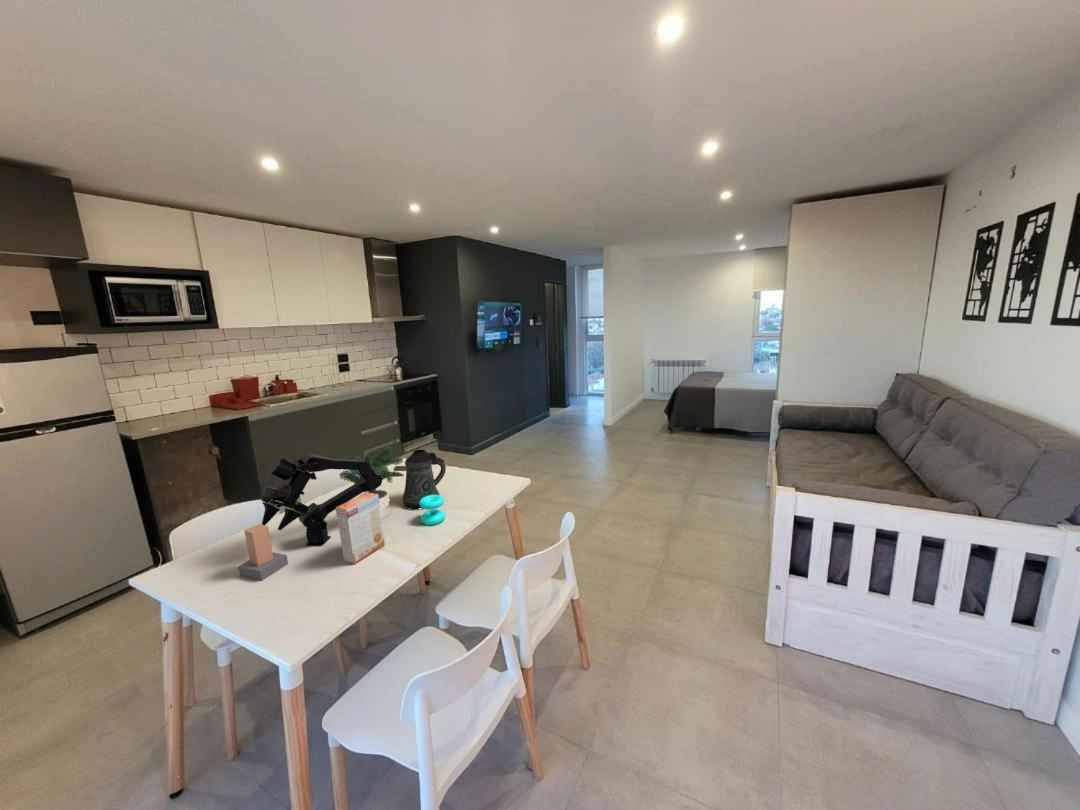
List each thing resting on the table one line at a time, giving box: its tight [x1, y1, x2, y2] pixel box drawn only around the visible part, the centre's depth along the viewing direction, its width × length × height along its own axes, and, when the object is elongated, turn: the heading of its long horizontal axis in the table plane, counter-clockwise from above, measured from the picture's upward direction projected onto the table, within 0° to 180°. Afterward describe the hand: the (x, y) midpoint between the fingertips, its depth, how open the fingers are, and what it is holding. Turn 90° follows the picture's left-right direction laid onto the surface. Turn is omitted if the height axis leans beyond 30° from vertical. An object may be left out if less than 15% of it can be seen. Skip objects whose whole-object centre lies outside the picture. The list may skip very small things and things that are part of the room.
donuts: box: [419, 494, 446, 526], centre depth 175 cm, size 10×10×10 cm
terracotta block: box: [243, 523, 274, 566], centre depth 141 cm, size 5×5×12 cm
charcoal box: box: [237, 551, 289, 582], centre depth 143 cm, size 10×10×4 cm
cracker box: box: [335, 491, 386, 565], centre depth 150 cm, size 14×6×21 cm, turn 153°
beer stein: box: [401, 449, 447, 510], centre depth 192 cm, size 16×19×25 cm
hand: (270, 527), depth 145 cm, fingers open, 9 cm apart
